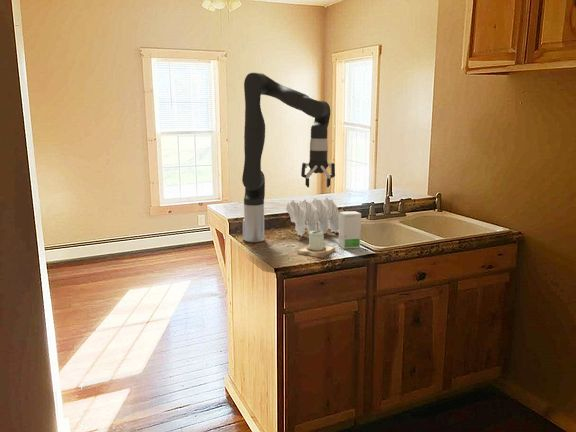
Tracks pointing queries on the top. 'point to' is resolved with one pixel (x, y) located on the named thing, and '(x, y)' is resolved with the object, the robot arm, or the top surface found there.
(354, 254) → the top surface
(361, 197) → the top surface
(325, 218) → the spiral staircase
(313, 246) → the pale green cylinder
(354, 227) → the skincare box
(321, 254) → the post
